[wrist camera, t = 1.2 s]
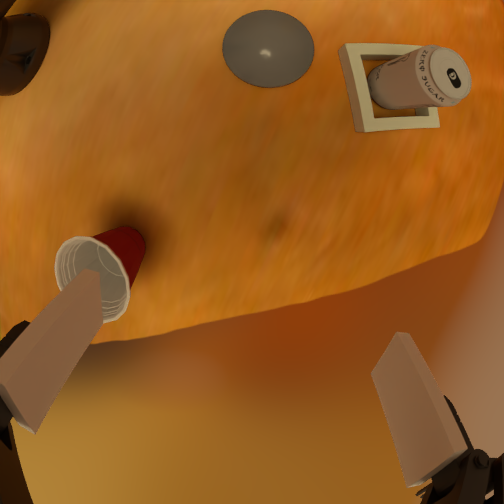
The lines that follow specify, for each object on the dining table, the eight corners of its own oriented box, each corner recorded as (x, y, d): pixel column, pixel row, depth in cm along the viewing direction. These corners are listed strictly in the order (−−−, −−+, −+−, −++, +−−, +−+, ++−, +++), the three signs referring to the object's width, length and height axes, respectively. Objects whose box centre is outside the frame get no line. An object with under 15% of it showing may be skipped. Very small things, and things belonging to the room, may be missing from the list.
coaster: (215, 21, 27) (214, 19, 26) (301, 7, 26) (302, 5, 25) (233, 95, 31) (233, 95, 31) (322, 81, 30) (323, 80, 29)
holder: (337, 50, 28) (345, 43, 25) (411, 51, 27) (423, 46, 24) (355, 131, 32) (364, 132, 29) (426, 126, 31) (439, 127, 28)
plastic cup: (152, 201, 37) (111, 232, 26) (169, 273, 41) (142, 322, 30) (89, 213, 38) (40, 244, 27) (109, 278, 42) (71, 322, 31)
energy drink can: (389, 60, 28) (453, 34, 14) (413, 98, 30) (484, 93, 16) (356, 77, 29) (411, 52, 16) (380, 117, 31) (447, 116, 18)
